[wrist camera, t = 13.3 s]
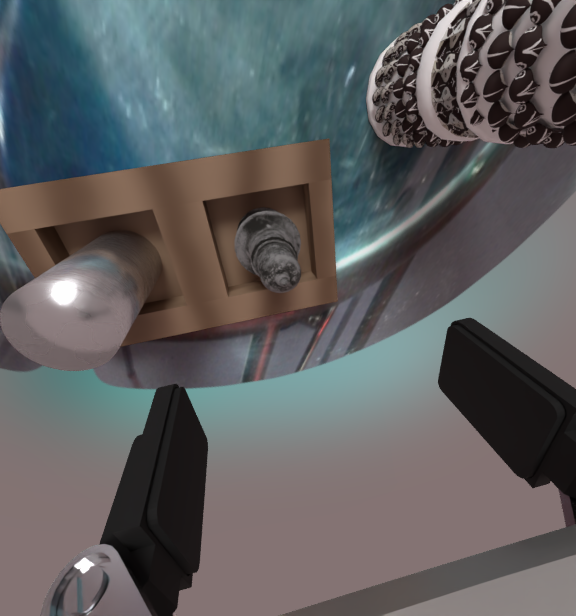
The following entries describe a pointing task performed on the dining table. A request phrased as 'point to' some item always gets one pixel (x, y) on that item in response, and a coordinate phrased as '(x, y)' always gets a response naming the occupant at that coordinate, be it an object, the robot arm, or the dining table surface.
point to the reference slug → (83, 303)
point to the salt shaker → (269, 248)
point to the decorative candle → (480, 76)
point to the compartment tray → (189, 230)
